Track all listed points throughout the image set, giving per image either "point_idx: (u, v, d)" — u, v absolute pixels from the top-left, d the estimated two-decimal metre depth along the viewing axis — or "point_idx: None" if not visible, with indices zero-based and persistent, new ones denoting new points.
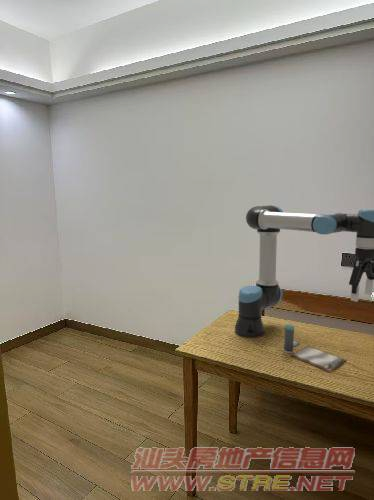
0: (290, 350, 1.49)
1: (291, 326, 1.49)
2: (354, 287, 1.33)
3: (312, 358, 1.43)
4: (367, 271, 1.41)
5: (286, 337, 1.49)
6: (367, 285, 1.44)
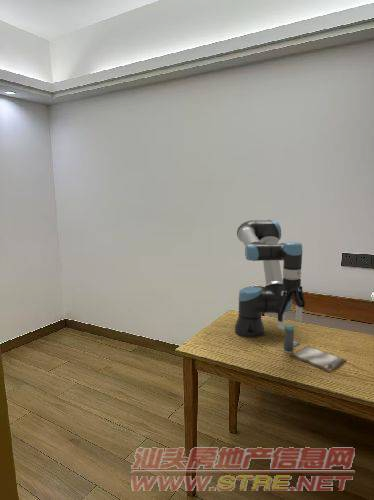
0: (290, 350, 1.49)
1: (291, 326, 1.49)
2: (279, 315, 1.42)
3: (312, 358, 1.43)
4: (295, 299, 1.50)
5: (286, 337, 1.49)
6: (297, 312, 1.52)
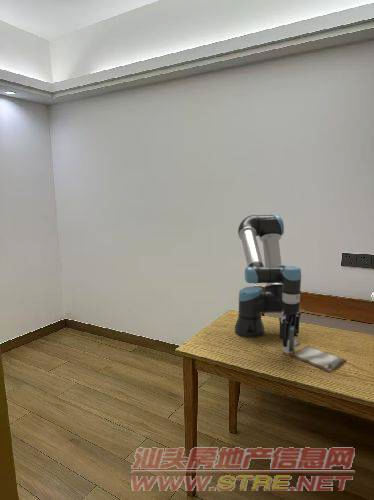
0: (290, 350, 1.49)
1: (291, 326, 1.49)
2: (284, 341, 1.47)
3: (312, 358, 1.43)
4: None
5: None
6: None
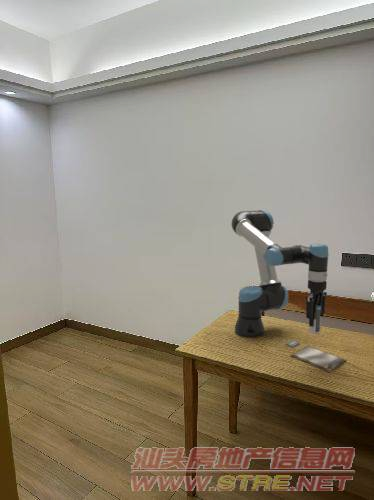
0: (317, 330, 1.45)
1: (317, 306, 1.45)
2: (311, 320, 1.44)
3: (312, 358, 1.43)
4: (317, 304, 1.47)
5: None
6: None
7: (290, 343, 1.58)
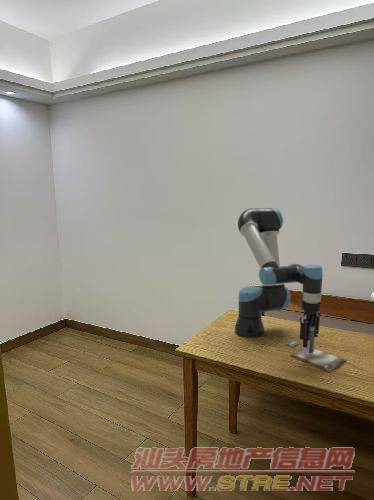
0: (310, 351, 1.45)
1: (311, 326, 1.44)
2: (305, 341, 1.43)
3: (312, 358, 1.43)
4: None
5: None
6: None
7: (290, 343, 1.58)
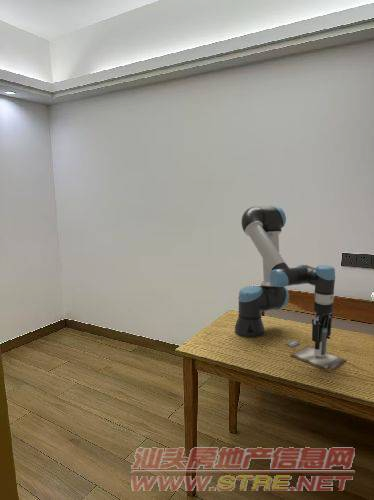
0: (322, 353, 1.43)
1: (323, 328, 1.42)
2: (317, 343, 1.41)
3: (312, 358, 1.43)
4: (323, 326, 1.44)
5: None
6: None
7: (290, 343, 1.58)
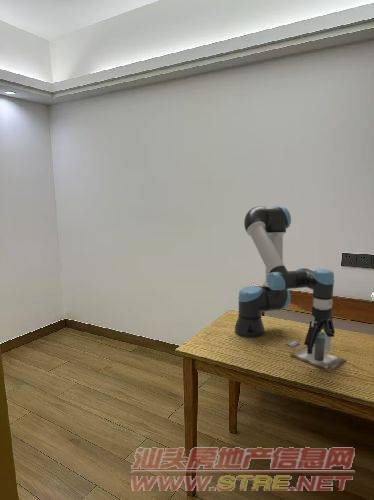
0: (321, 359, 1.39)
1: (322, 334, 1.38)
2: (309, 348, 1.34)
3: None
4: (325, 329, 1.41)
5: (317, 345, 1.38)
6: (326, 341, 1.44)
7: (290, 343, 1.58)
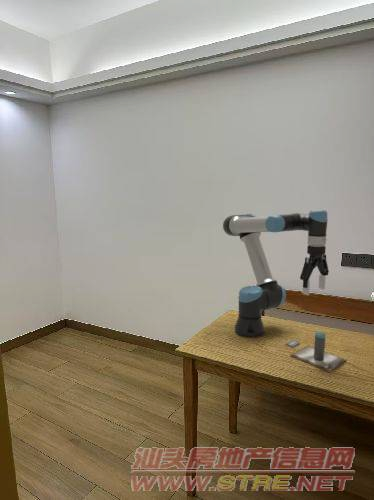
0: (321, 359, 1.39)
1: (322, 334, 1.38)
2: (305, 282, 1.45)
3: (312, 358, 1.43)
4: (319, 267, 1.52)
5: (317, 346, 1.38)
6: (320, 280, 1.55)
7: (290, 343, 1.58)
